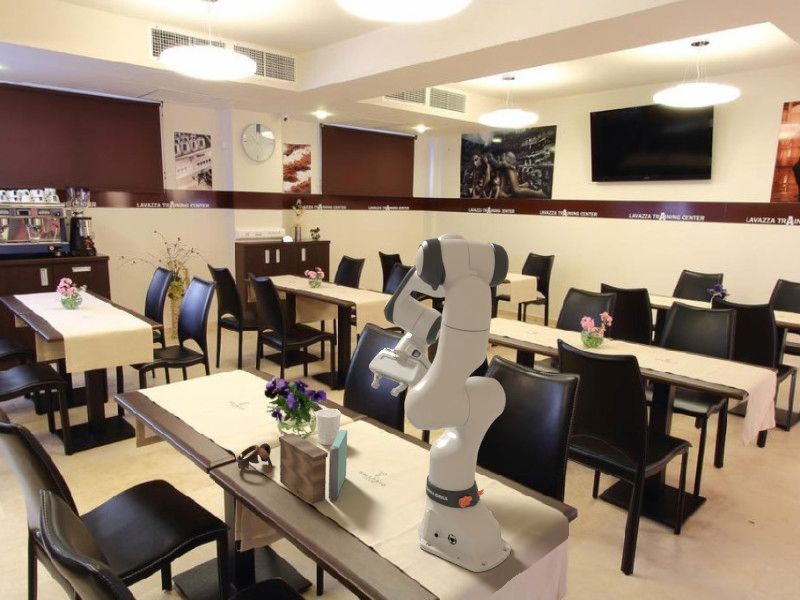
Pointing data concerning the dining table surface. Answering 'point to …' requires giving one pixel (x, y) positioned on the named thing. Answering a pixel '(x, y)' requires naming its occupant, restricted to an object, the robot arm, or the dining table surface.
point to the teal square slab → (337, 464)
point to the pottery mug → (255, 456)
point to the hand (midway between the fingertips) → (383, 391)
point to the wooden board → (303, 467)
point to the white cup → (328, 425)
